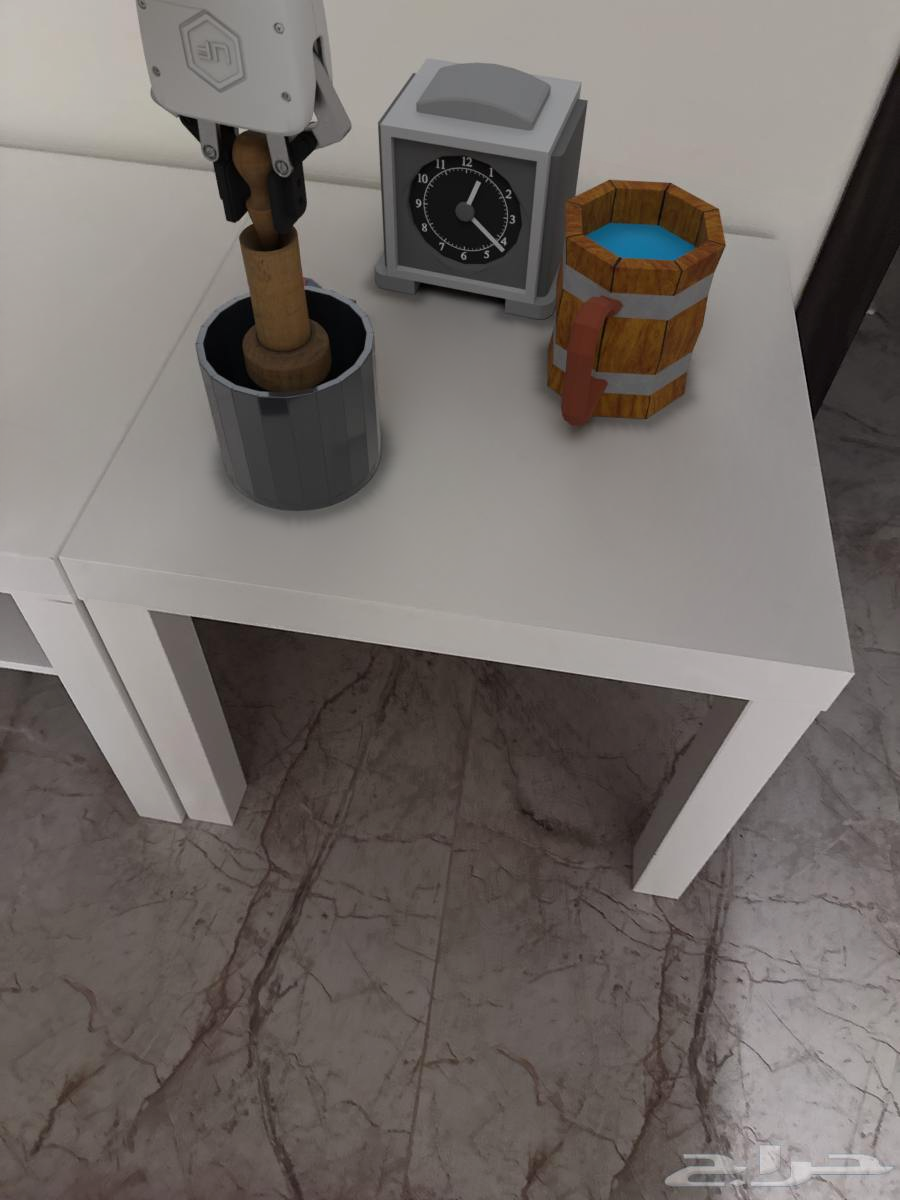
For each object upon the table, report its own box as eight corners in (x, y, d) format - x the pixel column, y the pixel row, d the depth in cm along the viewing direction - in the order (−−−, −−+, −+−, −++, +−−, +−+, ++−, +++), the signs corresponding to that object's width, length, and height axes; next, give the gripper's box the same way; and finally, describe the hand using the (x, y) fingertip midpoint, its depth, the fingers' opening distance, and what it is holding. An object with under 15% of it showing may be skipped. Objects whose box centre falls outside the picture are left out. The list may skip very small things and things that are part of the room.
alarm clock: (371, 286, 93) (360, 99, 79) (412, 216, 101) (409, 34, 86) (549, 321, 90) (571, 133, 76) (577, 247, 98) (603, 63, 83)
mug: (574, 310, 91) (595, 162, 79) (706, 351, 88) (749, 203, 76) (490, 433, 81) (500, 285, 69) (636, 485, 77) (673, 338, 65)
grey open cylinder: (196, 485, 77) (162, 371, 67) (268, 386, 84) (247, 270, 74) (342, 528, 74) (328, 416, 64) (403, 422, 82) (399, 307, 72)
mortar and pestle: (230, 380, 70) (178, 146, 56) (271, 330, 74) (232, 99, 60) (308, 403, 69) (275, 170, 55) (346, 351, 73) (324, 120, 58)
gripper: (32, -118, 46) (129, 221, 61) (330, -70, 43) (356, 275, 58) (114, -161, 50) (186, 166, 65) (391, -121, 47) (400, 213, 62)
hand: (265, 215), depth 61 cm, fingers closed on mortar and pestle, 2 cm apart
